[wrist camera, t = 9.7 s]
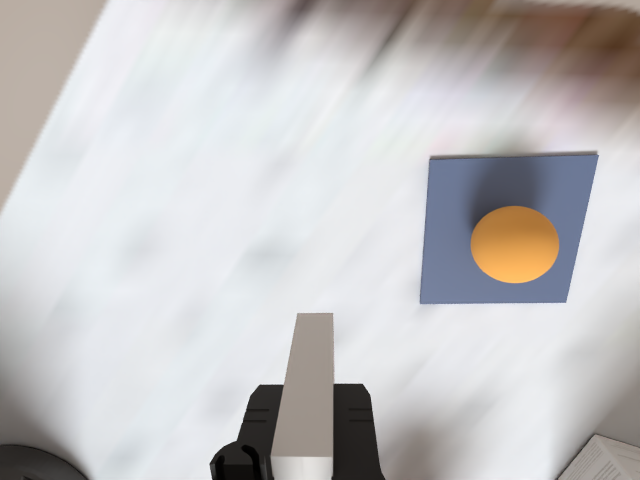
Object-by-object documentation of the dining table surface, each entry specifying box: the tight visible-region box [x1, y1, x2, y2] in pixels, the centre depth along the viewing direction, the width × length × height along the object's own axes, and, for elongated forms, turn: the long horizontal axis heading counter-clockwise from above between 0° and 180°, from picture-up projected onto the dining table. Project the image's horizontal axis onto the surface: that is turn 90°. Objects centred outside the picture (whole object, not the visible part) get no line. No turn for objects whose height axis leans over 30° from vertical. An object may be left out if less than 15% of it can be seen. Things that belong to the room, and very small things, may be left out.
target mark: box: [420, 155, 599, 304], centre depth 27 cm, size 12×12×1 cm
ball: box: [471, 206, 559, 283], centre depth 25 cm, size 6×6×6 cm
